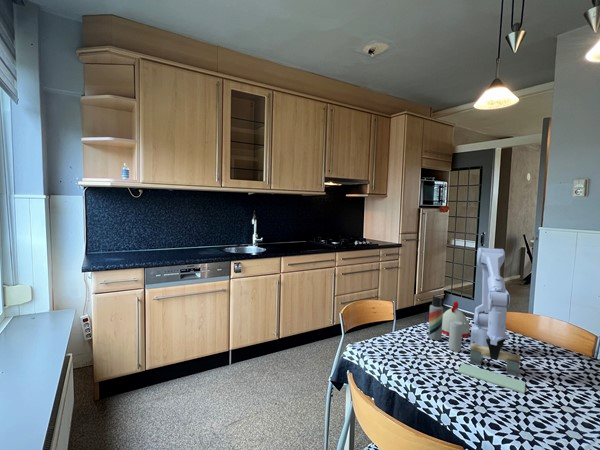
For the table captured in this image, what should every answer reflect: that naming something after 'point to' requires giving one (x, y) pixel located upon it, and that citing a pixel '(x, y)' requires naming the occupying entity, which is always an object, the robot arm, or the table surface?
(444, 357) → the table surface
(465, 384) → the table surface
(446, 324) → the kitchen timer
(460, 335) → the beverage can
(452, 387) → the table surface
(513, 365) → the cradle stands
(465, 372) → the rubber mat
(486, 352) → the oak rail
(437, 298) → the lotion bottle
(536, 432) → the table surface
